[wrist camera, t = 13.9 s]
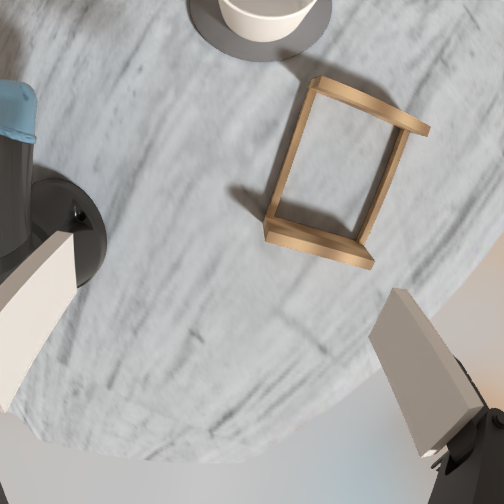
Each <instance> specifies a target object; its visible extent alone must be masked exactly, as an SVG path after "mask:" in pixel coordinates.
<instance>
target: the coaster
mask: <svg viewBox="0 0 504 504" xmlns="http://www.w3.org/2000/svg"><path fill="white" fill-rule="evenodd" d="M190 11H191V16H192V19H193V22H194V24H195V26H196V27H197V29H198V31H199V32H200V33H201V35H202V36H203V37H204V38H205V39H206V40H207V41H208V42H209V43H210V44H211V45H212V46H214V47H215V48H216V49H218V50H220V51H221V52H223V53H225V54H227V55H230V56H232V57H235V58H238V59H242V60H247V61H253V62H272V61H279V60H283V59H287V58H290V57H293V56H296V55H298V54H300V53H302V52H303V51H305V50H306V49H308V48H309V47H311V46H312V45H313V44H314V43H315V42H316V41H317V40H318V39H319V38H320V37H321V36H322V35H323V33H324V31H325V30H326V28H327V26H328V24H329V21H330V17H331V12H332V0H317V1H316V2H315V4H314V5H313V6H312V8H311V9H310V10H309V12H308V13H307V14H306V16H305V17H304V18H303V20H302V21H301V23H300V24H299V25H298V27H297V28H296V29H295V30H294V31H293V32H291V33H290V34H289V35H287V36H286V37H284V38H282V39H279V40H276V41H271V42H255V41H251V40H248V39H245V38H243V37H241V36H239V35H237V34H236V33H235V32H233V31H232V30H231V29H230V28H229V27H228V25H227V24H226V22H225V20H224V18H223V16H222V13H221V9H220V5H219V2H218V0H190Z"/></svg>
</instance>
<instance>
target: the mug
mask: <svg viewBox="0 0 504 504" xmlns="http://www.w3.org/2000/svg"><path fill="white" fill-rule="evenodd" d="M316 1H317V0H218V2H219V5H220V9H221V13H222V16H223V18H224V20H225V22H226V24H227V25H228V27H229V28H230V29H231V30H232V31H233V32H235V33H236V34H237V35H239V36H241V37H243V38H245V39H248V40H251V41H255V42H271V41H276V40H279V39H282V38H284V37H286V36H287V35H289V34H290V33H291V32H293V31H294V30H295V29H296V28H297V27H298V25H299V24H300V23H301V21H302V20H303V18H304V17H305V16H306V14H307V13H308V12H309V10H310V9H311V8H312V6H313V5H314V4H315V2H316Z"/></svg>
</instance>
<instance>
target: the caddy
mask: <svg viewBox="0 0 504 504" xmlns="http://www.w3.org/2000/svg"><path fill="white" fill-rule="evenodd" d="M316 92H317V93H320V94H323V95H325V96H328V97H330V98H333V99H336V100H338V101H341V102H343V103H346V104H348V105H350V106H353V107H355V108H358V109H360V110H362V111H364V112H367V113H369V114H371V115H373V116H376V117H378V118H380V119H382V120H384V121H386V122H388V123H391V124H393V125H395V126H397V127H399V128H401V129H400V132H399V135H398V138H397V140H396V143H395V146H394V149H393V151H392V154H391V157H390V159H389V162H388V165H387V167H386V170H385V172H384V175H383V178H382V180H381V183H380V185H379V188H378V190H377V193H376V195H375V198H374V200H373V202H372V205H371V207H370V210H369V212H368V214H367V217H366V219H365V221H364V224H363V226H362V228H361V231H360V233H359V235H358V237H357V240H356V241H355V240H352V239H349V238H345V237H342V236H339V235H335V234H332V233H329V232H326V231H322V230H319V229H316V228H312V227H309V226H305V225H302V224H299V223H295V222H292V221H288V220H285V219H281V218H278V217H274V215H275V213H276V210H277V207H278V204H279V201H280V198H281V195H282V192H283V189H284V186H285V184H286V181H287V178H288V175H289V172H290V169H291V166H292V163H293V160H294V157H295V154H296V151H297V148H298V146H299V143H300V140H301V137H302V134H303V131H304V128H305V125H306V122H307V119H308V116H309V113H310V110H311V107H312V104H313V101H314V98H315V95H316ZM430 128H431V127H430V126H429V125H427V124H425V123H423V122H421V121H420V120H418V119H416V118H414V117H412V116H410V115H409V114H407V113H405V112H403V111H401V110H399V109H397V108H395V107H393V106H391V105H389V104H387V103H385V102H383V101H381V100H378V99H376V98H374V97H372V96H370V95H368V94H365V93H363V92H361V91H359V90H356V89H354V88H352V87H349V86H347V85H345V84H342V83H340V82H337V81H335V80H332V79H330V78H327V77H324V76H319V77H316V78H313V79H311V81H310V84H309V87H308V90H307V93H306V96H305V99H304V102H303V105H302V108H301V111H300V114H299V117H298V120H297V123H296V126H295V129H294V132H293V135H292V138H291V141H290V144H289V147H288V150H287V153H286V156H285V159H284V162H283V165H282V168H281V171H280V174H279V177H278V180H277V183H276V186H275V189H274V192H273V194H272V197H271V200H270V203H269V206H268V209H267V212H266V215H265V218H264V221H263V229H264V236H265V242H269V243H273V244H277V245H280V246H284V247H288V248H291V249H295V250H299V251H302V252H306V253H310V254H313V255H317V256H321V257H324V258H328V259H332V260H335V261H339V262H342V263H346V264H350V265H353V266H357V267H360V268H364V269H368V270H371V269H372V267H373V265H374V262H375V261H374V259H373V258H372V256H371V255H370V254H369V252H368V251H367V250H366V248H365V247H364V245H365V242H366V240H367V238H368V236H369V233H370V231H371V229H372V227H373V224H374V222H375V220H376V218H377V215H378V213H379V211H380V208H381V206H382V204H383V201H384V199H385V196H386V194H387V191H388V189H389V187H390V184H391V182H392V179H393V176H394V174H395V171H396V169H397V166H398V164H399V161H400V158H401V156H402V153H403V150H404V148H405V145H406V142H407V139H408V136H409V134H410V132H411V133H415V134H419V135H422V136H426V137H428V134H429V131H430Z"/></svg>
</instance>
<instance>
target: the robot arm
mask: <svg viewBox="0 0 504 504" xmlns="http://www.w3.org/2000/svg"><path fill="white" fill-rule="evenodd" d="M36 108H37V97H36V93H35V91H34V90H33V88H32V87H31V86H30V85H28V84H26V83H24V82H20V81H14V80H7V79H0V411H2V412H4V413H6V412H7V409H8V407H9V405H10V404H11V402H12V400H13V398H14V396H15V394H16V392H17V390H18V388H19V386H20V384H21V383H22V381H23V379H24V377H25V375H26V373H27V372H28V370H29V368H30V366H31V365H32V363H33V361H34V359H35V358H36V356H37V354H38V353H39V351H40V349H41V348H42V346H43V344H44V343H45V341H46V339H47V338H48V336H49V334H50V333H51V331H52V330H53V328H54V327H55V325H56V323H57V322H58V320H59V319H60V317H61V316H62V314H63V313H64V311H65V310H66V308H67V307H68V305H69V304H70V302H71V301H72V299H73V298H74V296H75V295H76V293H77V288H79V287H81V286H83V285H85V284H86V283H87V282H89V281H90V280H91V279H92V278H93V276H94V275H95V274H96V272H97V271H98V270H99V268H100V267H101V265H102V263H103V261H104V258H105V255H106V249H107V236H106V230H105V226H104V223H103V220H102V217H101V215H100V213H99V211H98V209H97V207H96V206H95V204H94V203H93V201H92V200H91V199H90V198H89V196H88V195H87V194H86V193H85V192H83V191H82V190H81V189H80V188H79V187H77V186H76V185H74V184H72V183H70V182H68V181H65V180H61V179H45V180H41V181H39V182H37V183H35V184H33V185H32V162H33V147H34V143H36V139H37V138H36V136H35V120H36ZM369 339H370V341H371V343H372V345H373V348H374V350H375V352H376V354H377V356H378V358H379V361H380V363H381V365H382V367H383V369H384V372H385V374H386V376H387V378H388V380H389V383H390V385H391V387H392V390H393V392H394V394H395V397H396V399H397V401H398V403H399V406H400V408H401V411H402V413H403V416H404V418H405V420H406V423H407V425H408V427H409V430H410V433H411V435H412V438H413V440H414V443H415V445H416V448H417V451H418V453H419V456H420V458H421V457H426V456H430V455H434V454H436V453H438V452H439V451H440V450H441V449H442V448H443V447H444V446H445V445H447V447H448V451H447V452H446V453H445V454H444V455H443V456H442V457H441V458H439V459H438V460H437V461H436V462H435V463H434V464H433V465H432V466H431V468H432V469H433V468H435V467H436V466H437V465H438V464H439V463H441V466H440V467H439V468H438V469H437V470H436V471H438V475H437V479H436V482H435V485H434V488H433V491H432V493H431V496H430V499H429V502H428V504H504V412H503V411H501V410H500V409H497V408H491V409H489V408H488V406H487V404H486V403H485V401H484V399H483V398H482V396H481V394H480V393H479V391H478V389H477V387H476V386H475V384H474V383H473V382H472V381H471V380H472V379H471V378H470V376H469V375H468V374H467V372H466V370H465V368H464V367H463V365H462V364H461V362H460V361H459V360H458V359H456V358H455V357H454V356H453V355H452V353H451V352H450V350H449V349H448V347H447V346H446V344H445V343H444V341H443V340H442V338H441V337H440V335H439V334H438V332H437V331H436V330H435V328H434V327H433V325H432V324H431V322H430V321H429V320H428V318H427V317H426V315H425V314H424V313H423V311H422V310H421V308H420V307H419V306H418V304H417V303H416V302H415V300H414V299H413V297H412V296H411V295H410V293H409V292H408V291H407V290H406V289H399V288H392V291H391V293H390V295H389V297H388V299H387V301H386V303H385V305H384V307H383V309H382V311H381V313H380V315H379V317H378V319H377V321H376V323H375V325H374V327H373V329H372V331H371V333H370V335H369ZM0 504H8V501H7V499H6V496H5V494H4V491H3V488H2V485H1V483H0Z"/></svg>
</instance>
